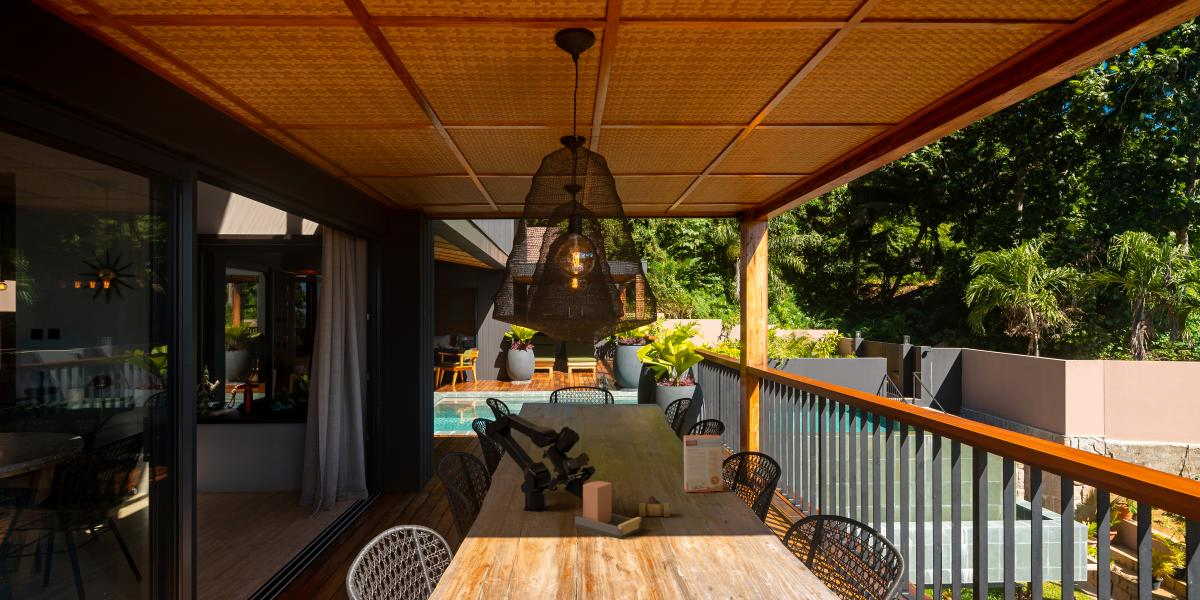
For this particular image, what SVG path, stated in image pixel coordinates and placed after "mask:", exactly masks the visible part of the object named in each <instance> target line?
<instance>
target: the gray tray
mask: <svg viewBox="0 0 1200 600" xmlns="http://www.w3.org/2000/svg"><path fill="white" fill-rule="evenodd" d="M574 527H576V528H580V529H582V530H583V529H584V530H587V531H590V532H594V533H597V534H601V535H604V536H605V535H606V536H608V537H612V538H616V539H618V540H619V539H620V540H623V539H625V538H627V537H629V536H632V535H634V534H636V533H638V532H640V531H642V517H639V516H636V517H634V518H632V517H629V516H624V515H620V514H617V513H612V512H611V521H610V522H608V523H602V522H598V521H595V520H591V519H587V518H583V516H579V515H576V516H574Z"/></svg>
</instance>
